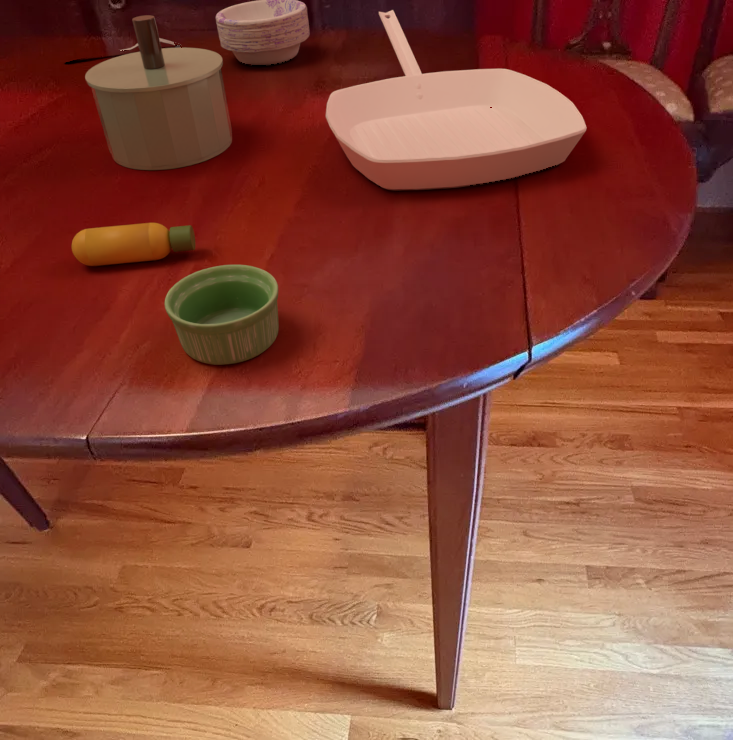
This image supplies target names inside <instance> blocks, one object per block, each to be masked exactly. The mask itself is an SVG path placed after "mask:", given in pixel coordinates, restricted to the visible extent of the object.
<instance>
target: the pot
mask: <svg viewBox="0 0 733 740" xmlns="http://www.w3.org/2000/svg"><path fill="white" fill-rule="evenodd" d="M90 88H91V92H92V95H93V99H94V103H95V106H96V109H97V113H98V116H99V119H100V120H99V121H100V123H101V126H102V130H103V133H104V137H105V140H106V144H107V147H108V151H109V153H110V155H111V157H112V160H113V161H114V162H115V164H118V165H120V166H122V167H125V168H128V169H133V170H140V171H163V170H166V171H167V170H174V169H179V168H180V169H181V168H185V167H189V166H193V165H197V164H199V163H203V162H206V161H208V160H211V159H213V158H215V157H217V156H219V155H221V154H223V153H224V152H225V151H227V150H228V148H229V147H231V145H232V143H233V129H232V123H231V117H230V111H229V105H228V101H227V94H226V89H225V82H224V78H223V72H222V68H221V69H220V70H219V71H217V72H216V73H215V74H213V75H211V76H209V77H207V78H205V79H202V80H200V81H197V82H194V83H191V84H187V85H184V86H179V87H175V88H170V89H164V90H158V91H149V92H137V93H117V92H107V91H101V90H97V89H94V88H92V87H90Z"/></svg>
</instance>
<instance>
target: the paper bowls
mask: <svg viewBox="0 0 733 740" xmlns="http://www.w3.org/2000/svg"><path fill="white" fill-rule="evenodd" d="M215 23H216V30H217V34H218V38H219V41H220V47H221V48H222V49H225V50H227V51H231V52H232V53H233V56H234V57H235V58H236V59H237V61H238V62H239V63H241V62H242V63H241V64H243V63H245V64H244V65H246V64H251V65H250V66H252V65H266V66H272V65H271V64H274V65H278V64H277V63H279V64H283V63H286V62H288V61H290V59H291V60H292V59H294V58H295V57H296V56H297V55H298V53H299V50H300V48H301V44H302V43H303V42H305V41H306V40H307V39H308V38H309V37H310V36H311V35H310V25H309V24H310V23H309V15H308V7H307V5H306V4H305V2H303V1H301V0H252V1H247V2H242V3H238V4H234V5H231V6H228V7H225V8H224V9H221V10H219V11H218V12H217V13H216V15H215ZM285 61H286V62H285ZM282 62H283V63H282Z"/></svg>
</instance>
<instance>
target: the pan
mask: <svg viewBox="0 0 733 740" xmlns="http://www.w3.org/2000/svg"><path fill="white" fill-rule="evenodd" d="M378 15H379V18H380V20H381V22H382V25H383V27H384V29H385V32H386V34H387V36H388V39H389V41H390V44H391V46H392V48H393V50H394V53H395V55H396V57H397V59H398V62H399V65H400V67H401V69H402V71H403V74H404V75H403V76H398V77H397V76H396V77H391V78H386V79H385V78H384V79H381V80H375V81H371V82H367V83H362V84H356V85H352V86H349V87H344V88H340V89H336V90H334V91H332V92H331V93H330V94H329V97H328V100H327V102H326V106H325V107H326V108H325V119H326V122H327V123H328V126H329V129H330V130H331V132H332V133H333V135H334V137H335V138H336V141H337V142H338V144H339V146H340V148H341V149H342V151H343V152H344V154H345V156H346V158H347V159H348V161H349V162H350V164H351V166H352V167H354V168H355V169H356V170H357V171H359V173H361V174H362V175H363V176H364V177H365V178H367V179H368V180H370V181H371V182H373V183H374V184H376V185H377V186H380V187H381V188H382V189H384V190H388V191H397V192H398V191H425V190H440V189H441V190H442V189H443V190H444V189H458V188H465V187H471V186H470V185H473V186H477V185H476V184H480V185H484V184H483V183H487V184H490V183H489V182H492V183H496V182H495V181H498V182H501V181H500V180H503V181H507V180H506V179H509V180H512V179H516V178H519V176H520V177H523V176H522V175H524V176H526V175H525V174H527V175H530V174H529V173H531V174H534V173H533V172H535V173H537V172H536V171H538V172H541V171H540V170H542V171H544V170H543V169H545V170H546V168H548V167H551V168H553V167H552V166H554V167H556V166H558V165H560V164H562V163H564V162H565V161H566V159H567V158H568V157H569V156H570V154H571V152H572V151H573V150H574V148H575V147H576V145H578V143H579V141H580V140H581V139H582V137H583V135H584V134H585V133H586V132H587V128H588V127H587V125H586V121H585V119H584V117H583V115H582V114H581V112H580V111H579V109H578V108H577V106H576V105H575V104H574V102H573V101H571V100H570V99H569V98H568V97H567V96H565V95H564V94H562V93H561V91H560V92H559V91H558V90H557V89H555V88H553V86H550V85H549V84H547V83H546V82H542V81H541V80H538V79H535V78H533V77H531V76H528V75H526V74H525V73H524V74H523V73H521V72H518V71H515V70H512V69H507V68H477V69H461V70H443V71H436V72H426V73H422V71H421V69H420V66H419V64H418V62H417V60H416V59H417V58H415V55H414V53H413V50H412V48H411V46H410V44H409V42H408V39H407V37H406V34H405V33H404V31H403V29H402V26H401V24H400V22H399V19H398V17H397V16H396V13H395V11H394V9H391V10H389V11H386V12H384V11H378ZM490 107H492V108H490ZM555 165H556V166H555ZM548 169H549V168H548ZM515 177H516V178H515ZM511 178H512V179H511Z"/></svg>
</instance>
